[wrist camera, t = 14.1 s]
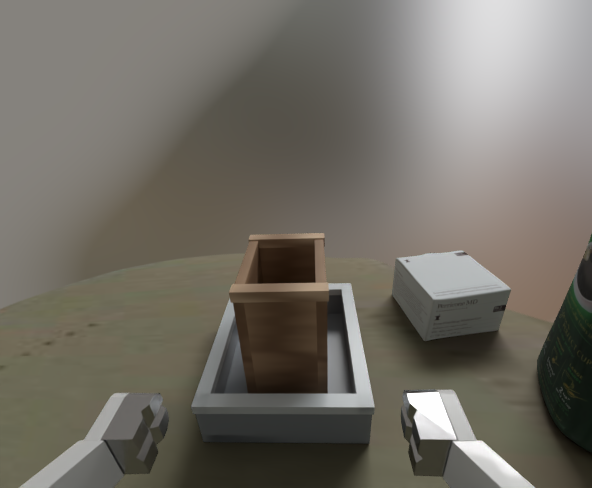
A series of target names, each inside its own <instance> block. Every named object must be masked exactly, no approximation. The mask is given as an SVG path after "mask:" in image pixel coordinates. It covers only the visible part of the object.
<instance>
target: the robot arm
mask: <svg viewBox="0 0 592 488" xmlns="http://www.w3.org/2000/svg"><path fill="white" fill-rule="evenodd" d="M162 401H163V399H162V397H161V395H160V393H115V394H113V395H112V396H111V397H110V398H109V400H108V402H107V403H106V405H105V406H104V408H103V410H102V411H101V413H100V415H99V416H98V418H97V419H96V421H95V423H94V424H93V426H92V428H91V429H90V431H89V432H88V434H87V436H86V437H85V439H84V440H80V441H78V442H77V443H75V444H74V445H73V446H72V447H70V448H69V449H68V450H67V451H65V452H64V453H63V454H61V455H60V456H59V457H58V458H56V459H55V460H54V461H52V462H51V463H50V464H49V465H47V466H46V467H45V468H44V469H42V470H41V471H40V472H38V473H37V474H36V475H35V476H33V477H32V478H31V479H29V480H28V481H27V482H26V483H24V484H23V485H22V486H21V487H19V488H113V487H114V486H115V485H116V484H117V483H118V482H119V481H120V480H121V479H122V478H123V476H124V475H123V474H150V471H151V469H152V466H153V464H154V461H155V459H156V456H157V454H158V449H157V444H158V443H159V442H160V441H161V440H162V439H164V436H165V434H166V431H167V427H168V421H169V417H168V412H167V409H166V408H165V407H164V406H162V405H161V403H162ZM403 401H404V405H403V406H402V407H401V423H402V429H403V433H404V438H405V439H406V440H407V441H408V442H409V443H410V444H409V451H408V454H409V457H410V461H411V465H412V469H413V473H414V476H440V477H443V479H444V480H445V481H446V483H447V484H448V485H449V486H450V488H535V487H534V486H533V485H532V484H530V483H529V482H528V481H527V480H526V479H525V478H524V477H522V476H521V475H520V474H519V473H518V472H517V471H516V470H515V469H513V468H512V467H511V466H510V465H509V464H508V463H507V462H506V461H504V460H503V459H502V458H501V457H500V456H499V455H498V454H497V453H495V452H494V451H493V450H492V449H491V448H490V447H489V446H487V445H486V444H485V443H484V442H483V441H479V440H476V437H475V435H474V433H473V431H472V429H471V426H470V424H469V422H468V420H467V417H466V415H465V413H464V411H463V409H462V406H461V404H460V402H459V400H458V397H457V395H456V393H455V392H454V391H453V390H435V389H434V390H404V392H403Z"/></svg>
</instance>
